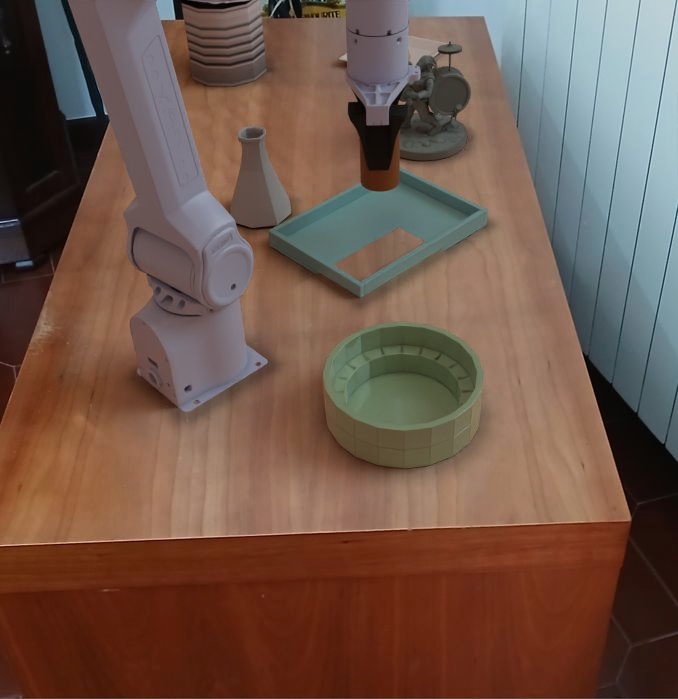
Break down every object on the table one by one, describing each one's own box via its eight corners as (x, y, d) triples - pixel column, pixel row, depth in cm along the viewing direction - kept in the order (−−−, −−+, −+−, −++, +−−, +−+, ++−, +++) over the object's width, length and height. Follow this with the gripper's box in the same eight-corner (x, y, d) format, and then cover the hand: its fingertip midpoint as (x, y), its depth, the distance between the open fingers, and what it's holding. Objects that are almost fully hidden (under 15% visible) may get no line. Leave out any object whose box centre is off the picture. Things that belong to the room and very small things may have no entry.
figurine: (375, 124, 120) (374, 34, 112) (456, 116, 120) (461, 26, 113) (389, 164, 112) (389, 70, 104) (476, 156, 112) (482, 61, 105)
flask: (283, 232, 101) (276, 151, 95) (220, 227, 103) (209, 146, 96) (299, 197, 107) (292, 118, 100) (239, 193, 108) (229, 114, 101)
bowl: (404, 499, 72) (404, 456, 69) (294, 415, 80) (290, 372, 77) (511, 414, 79) (516, 371, 76) (400, 344, 86) (401, 302, 83)
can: (178, 65, 136) (165, -18, 128) (248, 47, 140) (240, -34, 132) (207, 94, 128) (195, 8, 120) (281, 75, 132) (274, -10, 124)
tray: (360, 302, 92) (360, 286, 90) (269, 245, 100) (267, 230, 98) (486, 225, 101) (488, 209, 100) (394, 179, 109) (394, 164, 108)
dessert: (411, 82, 129) (411, 49, 125) (338, 66, 134) (336, 33, 130) (449, 50, 136) (451, 18, 133) (379, 36, 141) (379, 5, 138)
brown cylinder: (380, 196, 93) (378, 106, 86) (352, 182, 95) (349, 93, 89) (407, 181, 95) (408, 92, 88) (380, 167, 97) (379, 80, 90)
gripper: (423, 56, 78) (420, 195, 87) (418, -6, 89) (416, 122, 98) (340, 58, 79) (346, 196, 88) (346, -4, 90) (350, 124, 98)
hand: (378, 157), depth 93 cm, fingers closed on brown cylinder, 4 cm apart
